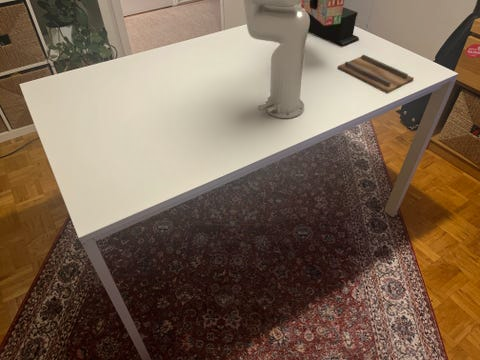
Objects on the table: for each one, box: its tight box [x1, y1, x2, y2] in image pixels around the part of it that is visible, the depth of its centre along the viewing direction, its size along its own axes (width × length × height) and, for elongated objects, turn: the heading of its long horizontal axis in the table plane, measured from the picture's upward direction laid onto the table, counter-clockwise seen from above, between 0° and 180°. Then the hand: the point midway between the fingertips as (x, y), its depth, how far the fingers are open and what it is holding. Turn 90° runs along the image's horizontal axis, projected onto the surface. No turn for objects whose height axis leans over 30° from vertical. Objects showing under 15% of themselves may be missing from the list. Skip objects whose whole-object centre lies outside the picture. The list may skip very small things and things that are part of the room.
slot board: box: [337, 54, 415, 94], centre depth 134 cm, size 14×23×2 cm, turn 35°
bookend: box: [305, 6, 360, 48], centre depth 153 cm, size 23×11×24 cm, turn 37°
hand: (321, 5), depth 133 cm, fingers closed on stack of blocks, 7 cm apart
